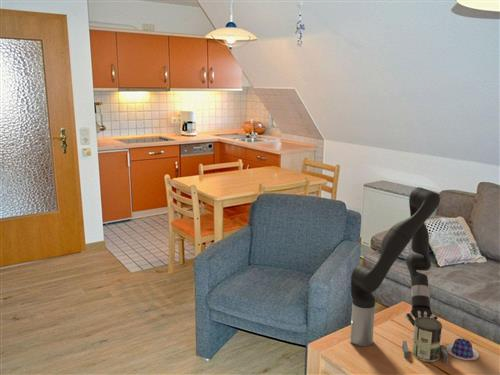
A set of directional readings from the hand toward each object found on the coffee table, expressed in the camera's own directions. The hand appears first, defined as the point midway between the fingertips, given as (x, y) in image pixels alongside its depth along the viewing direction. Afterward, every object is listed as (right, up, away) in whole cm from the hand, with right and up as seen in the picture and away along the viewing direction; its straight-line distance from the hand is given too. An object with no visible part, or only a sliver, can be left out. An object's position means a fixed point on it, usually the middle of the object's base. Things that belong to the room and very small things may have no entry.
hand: (422, 337), depth 184 cm
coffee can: (-1, -5, -4) cm, 7 cm away
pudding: (+15, -5, -3) cm, 16 cm away
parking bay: (-1, -5, -5) cm, 7 cm away
